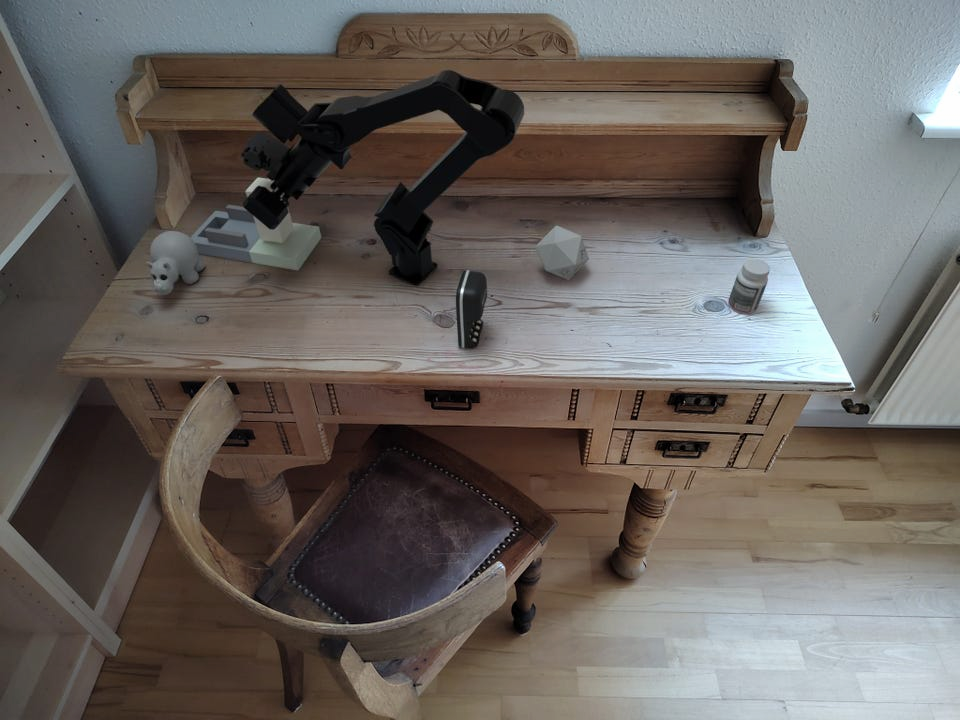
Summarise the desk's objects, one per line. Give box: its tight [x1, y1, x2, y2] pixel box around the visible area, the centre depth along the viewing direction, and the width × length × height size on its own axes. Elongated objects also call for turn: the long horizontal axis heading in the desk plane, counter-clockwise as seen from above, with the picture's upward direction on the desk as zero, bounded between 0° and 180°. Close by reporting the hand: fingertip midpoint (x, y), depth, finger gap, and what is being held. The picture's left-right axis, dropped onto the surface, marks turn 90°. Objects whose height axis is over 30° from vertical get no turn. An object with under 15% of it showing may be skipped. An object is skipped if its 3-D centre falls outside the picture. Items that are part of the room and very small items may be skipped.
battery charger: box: [455, 269, 488, 349], centre depth 102 cm, size 7×4×11 cm, turn 170°
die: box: [534, 225, 590, 281], centre depth 115 cm, size 8×9×10 cm
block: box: [245, 177, 294, 243], centre depth 116 cm, size 4×4×10 cm
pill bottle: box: [727, 257, 771, 315], centre depth 107 cm, size 5×5×8 cm
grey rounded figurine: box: [145, 230, 206, 296], centre depth 112 cm, size 8×12×9 cm, turn 176°
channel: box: [189, 204, 322, 271], centre depth 121 cm, size 22×10×5 cm, turn 75°
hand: (263, 209), depth 117 cm, fingers closed on block, 4 cm apart
